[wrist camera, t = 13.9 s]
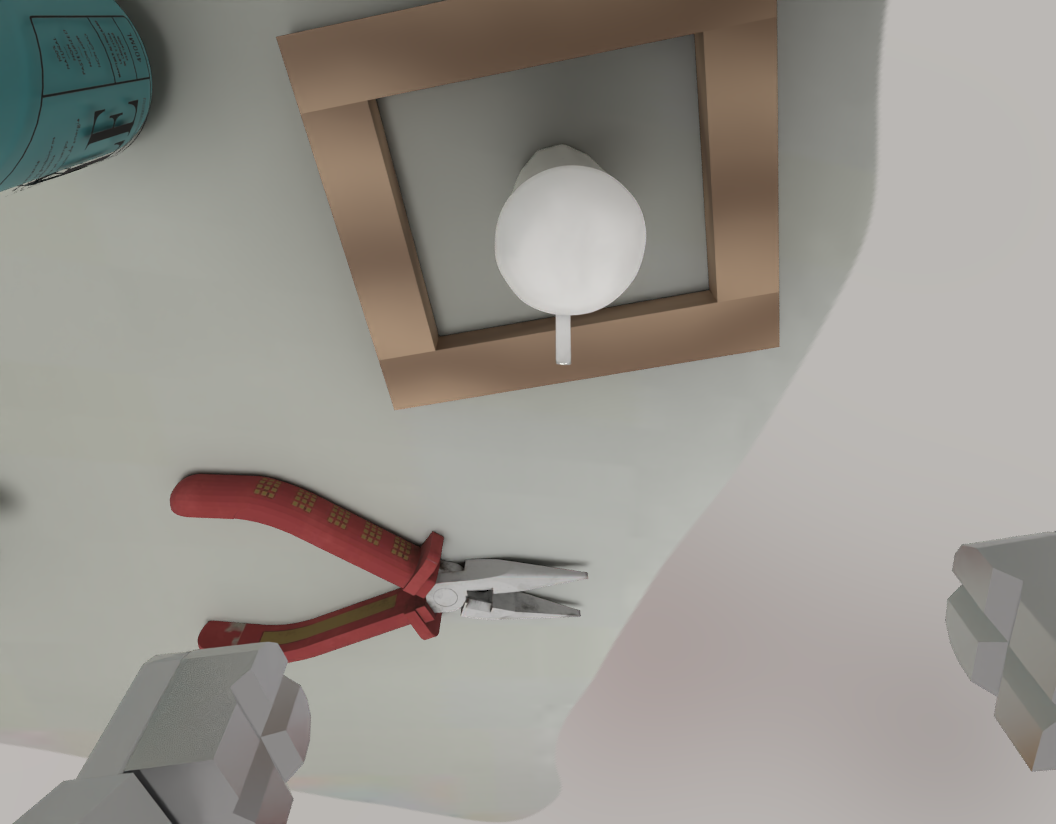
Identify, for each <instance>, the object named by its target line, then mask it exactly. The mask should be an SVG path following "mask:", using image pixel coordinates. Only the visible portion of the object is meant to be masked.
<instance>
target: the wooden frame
mask: <svg viewBox="0 0 1056 824" xmlns="http://www.w3.org/2000/svg"><path fill="white" fill-rule="evenodd" d="M690 34H694V36H695V53H696V71H697V88H698V105H699V122H700V139H701V156H702V173H703V190H704V208H705V225H706V242H707V259H708V276H709V290H707V291H701V292H695V293H689V294H684V295H678V296H672V297H666V298H660V299H655V300H649V301H643V302H637V303H632V304H626V305H620V306H614V307H608V308H603V309H599V310H597V311H594V312H591V313H587V314H581V315H570V316H571V364H570V365H560V364H556V317H551V318H545V319H539V320H533V321H527V322H522V323H516V324H510V325H504V326H498V327H493V328H487V329H481V330H475V331H470V332H464V333H458V334H452V335H446V336H441V337H439V335H438V331H437V327H436V324H435V320H434V316H433V312H432V309H431V305H430V301H429V297H428V294H427V290H426V286H425V282H424V279H423V275H422V271H421V267H420V264H419V260H418V256H417V252H416V249H415V245H414V241H413V237H412V234H411V230H410V226H409V222H408V219H407V215H406V211H405V207H404V204H403V200H402V196H401V192H400V189H399V185H398V181H397V177H396V173H395V170H394V166H393V162H392V158H391V155H390V151H389V147H388V143H387V140H386V136H385V132H384V128H383V125H382V121H381V117H380V113H379V110H378V106H377V102H376V98H381V97H386V96H391V95H396V94H401V93H406V92H411V91H416V90H421V89H425V88H430V87H435V86H440V85H445V84H450V83H455V82H460V81H465V80H470V79H474V78H479V77H484V76H489V75H494V74H499V73H504V72H509V71H514V70H519V69H523V68H528V67H533V66H538V65H543V64H548V63H553V62H558V61H563V60H568V59H572V58H577V57H582V56H587V55H592V54H597V53H602V52H607V51H612V50H617V49H621V48H626V47H631V46H636V45H641V44H646V43H651V42H656V41H661V40H666V39H670V38H675V37H680V36H685V35H690ZM276 38H277V42H278V45H279V48H280V51H281V54H282V57H283V60H284V64H285V67H286V70H287V73H288V76H289V79H290V83H291V86H292V89H293V92H294V95H295V98H296V101H297V105H298V108H299V111H300V114H301V117H302V120H303V123H304V127H305V130H306V133H307V136H308V139H309V142H310V145H311V149H312V152H313V155H314V158H315V161H316V164H317V167H318V171H319V174H320V177H321V180H322V183H323V186H324V189H325V193H326V196H327V199H328V202H329V205H330V208H331V211H332V215H333V218H334V221H335V224H336V227H337V230H338V234H339V237H340V240H341V243H342V246H343V249H344V252H345V256H346V259H347V262H348V265H349V268H350V271H351V274H352V278H353V281H354V284H355V287H356V290H357V293H358V296H359V300H360V303H361V306H362V309H363V312H364V315H365V318H366V322H367V325H368V328H369V331H370V334H371V337H372V340H373V344H374V347H375V350H376V353H377V356H378V359H379V362H380V366H381V369H382V372H383V375H384V378H385V381H386V384H387V388H388V391H389V394H390V397H391V400H392V403H393V407H394V410H399V409H405V408H411V407H417V406H423V405H429V404H435V403H441V402H447V401H453V400H459V399H466V398H472V397H478V396H484V395H490V394H496V393H502V392H508V391H514V390H520V389H526V388H532V387H538V386H544V385H551V384H557V383H563V382H569V381H575V380H581V379H587V378H593V377H599V376H605V375H611V374H617V373H623V372H630V371H636V370H642V369H648V368H654V367H660V366H666V365H672V364H678V363H684V362H690V361H696V360H702V359H709V358H715V357H721V356H727V355H733V354H739V353H745V352H751V351H757V350H763V349H769V348H775V347H779V224H778V85H777V0H446V1H441V2H436V3H432V4H427V5H423V6H418V7H413V8H409V9H404V10H399V11H395V12H390V13H385V14H381V15H376V16H371V17H367V18H362V19H357V20H353V21H348V22H343V23H339V24H334V25H329V26H325V27H320V28H315V29H311V30H306V31H301V32H297V33H292V34H287V35H283V36H278V37H276Z"/></svg>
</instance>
